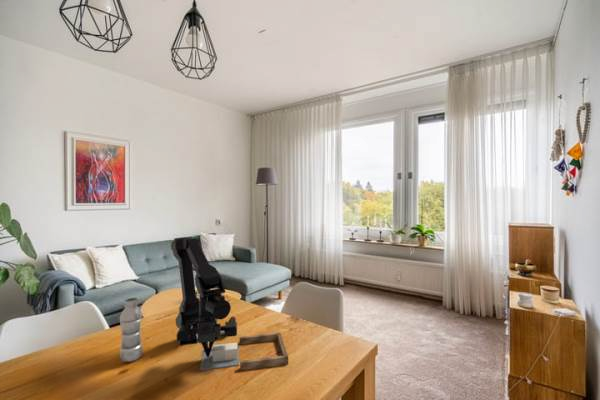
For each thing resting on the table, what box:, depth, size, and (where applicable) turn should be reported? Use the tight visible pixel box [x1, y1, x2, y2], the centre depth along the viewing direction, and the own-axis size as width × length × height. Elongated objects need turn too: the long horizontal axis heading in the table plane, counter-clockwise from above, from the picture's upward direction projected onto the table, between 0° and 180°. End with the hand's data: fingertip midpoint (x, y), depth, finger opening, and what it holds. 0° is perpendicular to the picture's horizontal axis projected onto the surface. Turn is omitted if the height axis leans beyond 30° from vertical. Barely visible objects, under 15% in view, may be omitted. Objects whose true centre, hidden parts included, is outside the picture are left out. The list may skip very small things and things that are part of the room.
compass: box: [219, 316, 237, 338], centre depth 112 cm, size 8×8×7 cm
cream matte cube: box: [212, 343, 226, 362], centre depth 96 cm, size 4×4×4 cm
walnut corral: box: [238, 332, 289, 371], centre depth 99 cm, size 15×17×2 cm
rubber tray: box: [199, 345, 240, 371], centre depth 96 cm, size 12×12×1 cm
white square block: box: [224, 342, 238, 360], centre depth 97 cm, size 4×4×4 cm
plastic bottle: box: [119, 297, 144, 363], centre depth 95 cm, size 6×7×20 cm
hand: (208, 356), depth 95 cm, fingers closed
